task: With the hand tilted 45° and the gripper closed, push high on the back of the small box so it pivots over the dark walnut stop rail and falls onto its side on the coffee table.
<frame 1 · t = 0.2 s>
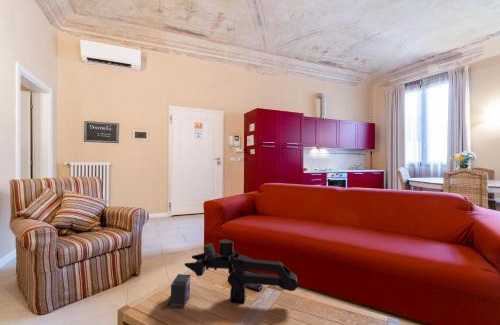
hand: (188, 260, 123), 16 cm above the table, tool horizontal, fingers open, 9 cm apart
stop rail: (170, 300, 117), on the table
small box: (180, 302, 117), on the table
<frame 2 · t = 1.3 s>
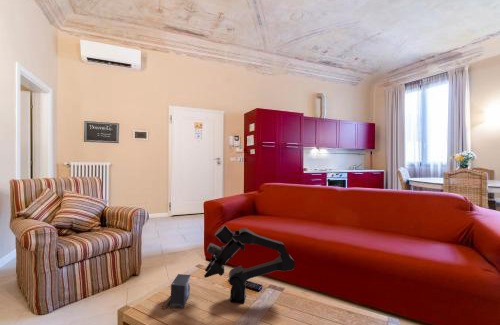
hand: (205, 273, 118), 13 cm above the table, tool tilted 45°, fingers open, 6 cm apart
nothing on the table moved.
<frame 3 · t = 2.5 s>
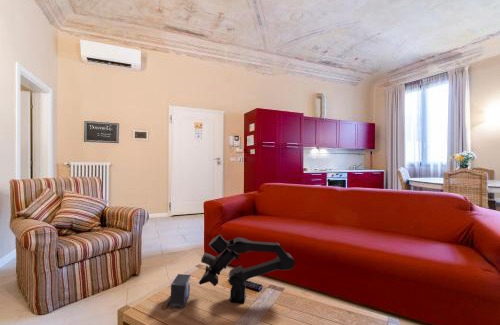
hand: (199, 283, 117), 8 cm above the table, tool tilted 45°, fingers closed
nothing on the table moved.
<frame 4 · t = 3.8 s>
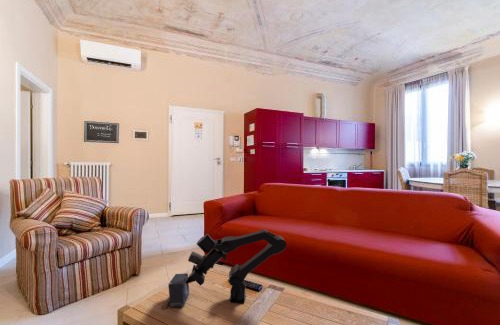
hand: (186, 282, 117), 9 cm above the table, tool tilted 45°, fingers closed
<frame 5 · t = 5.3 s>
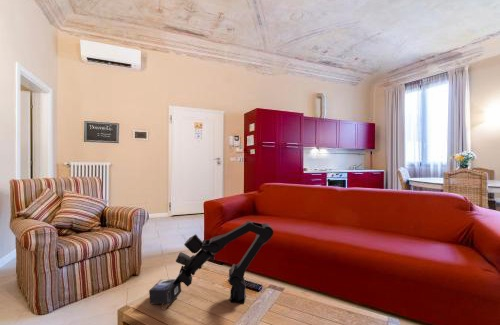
hand: (174, 283, 116), 8 cm above the table, tool tilted 45°, fingers closed, pressing on small box
small box: (176, 290, 116), point 5 cm above the table, touching gripper, stop rail
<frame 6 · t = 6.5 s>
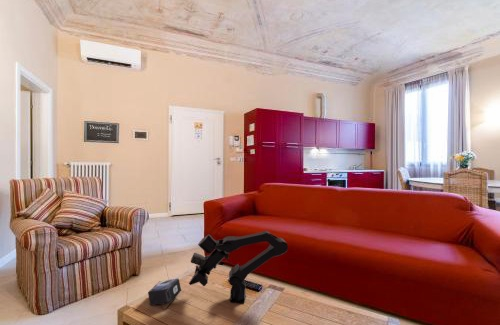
hand: (189, 284, 117), 8 cm above the table, tool tilted 45°, fingers closed
small box: (175, 289, 116), point 6 cm above the table, touching stop rail
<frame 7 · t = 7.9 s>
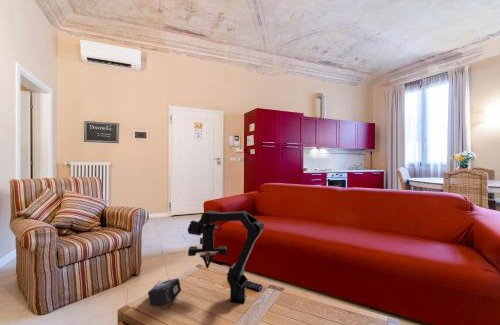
hand: (207, 267, 125), 12 cm above the table, tool pointing down, fingers closed
nothing on the table moved.
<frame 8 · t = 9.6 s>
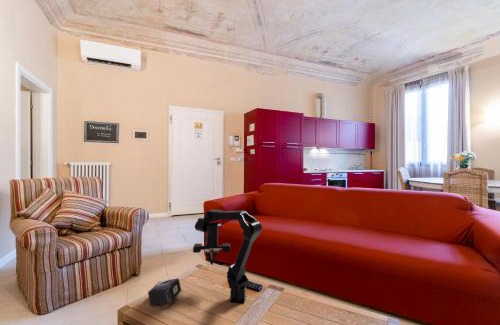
hand: (211, 264, 130), 12 cm above the table, tool pointing down, fingers closed
nothing on the table moved.
at the end: small box tilted 105°; small box inside the target area (5.8 cm from its centre), point 5.6 cm above the table; the gripper is holding nothing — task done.
